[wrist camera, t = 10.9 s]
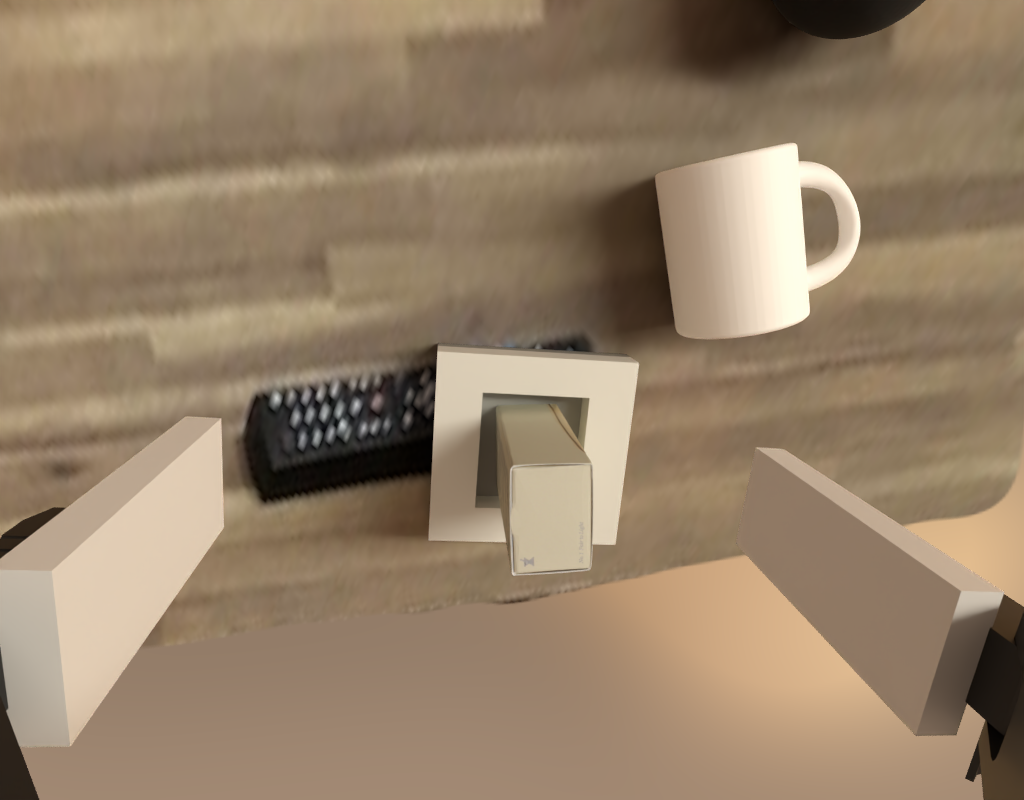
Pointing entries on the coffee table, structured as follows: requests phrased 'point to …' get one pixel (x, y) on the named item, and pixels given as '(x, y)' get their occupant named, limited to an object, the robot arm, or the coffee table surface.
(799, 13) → the decorative ball
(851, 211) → the mug
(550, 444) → the skincare box
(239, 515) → the coffee table surface
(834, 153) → the coffee table surface
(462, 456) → the socket block
